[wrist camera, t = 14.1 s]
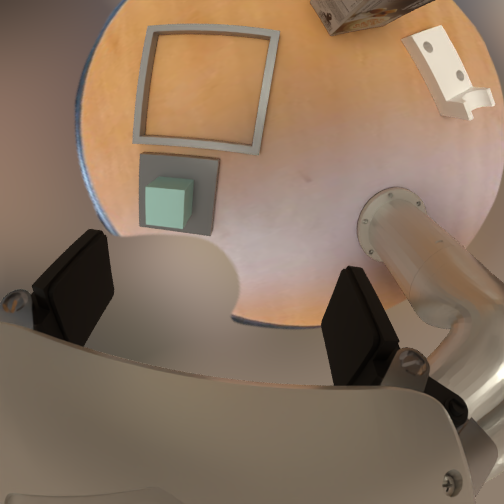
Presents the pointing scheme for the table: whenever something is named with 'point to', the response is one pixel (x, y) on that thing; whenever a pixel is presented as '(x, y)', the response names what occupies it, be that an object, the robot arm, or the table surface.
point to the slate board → (185, 168)
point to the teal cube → (169, 202)
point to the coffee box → (361, 13)
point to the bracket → (445, 74)
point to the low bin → (145, 81)
